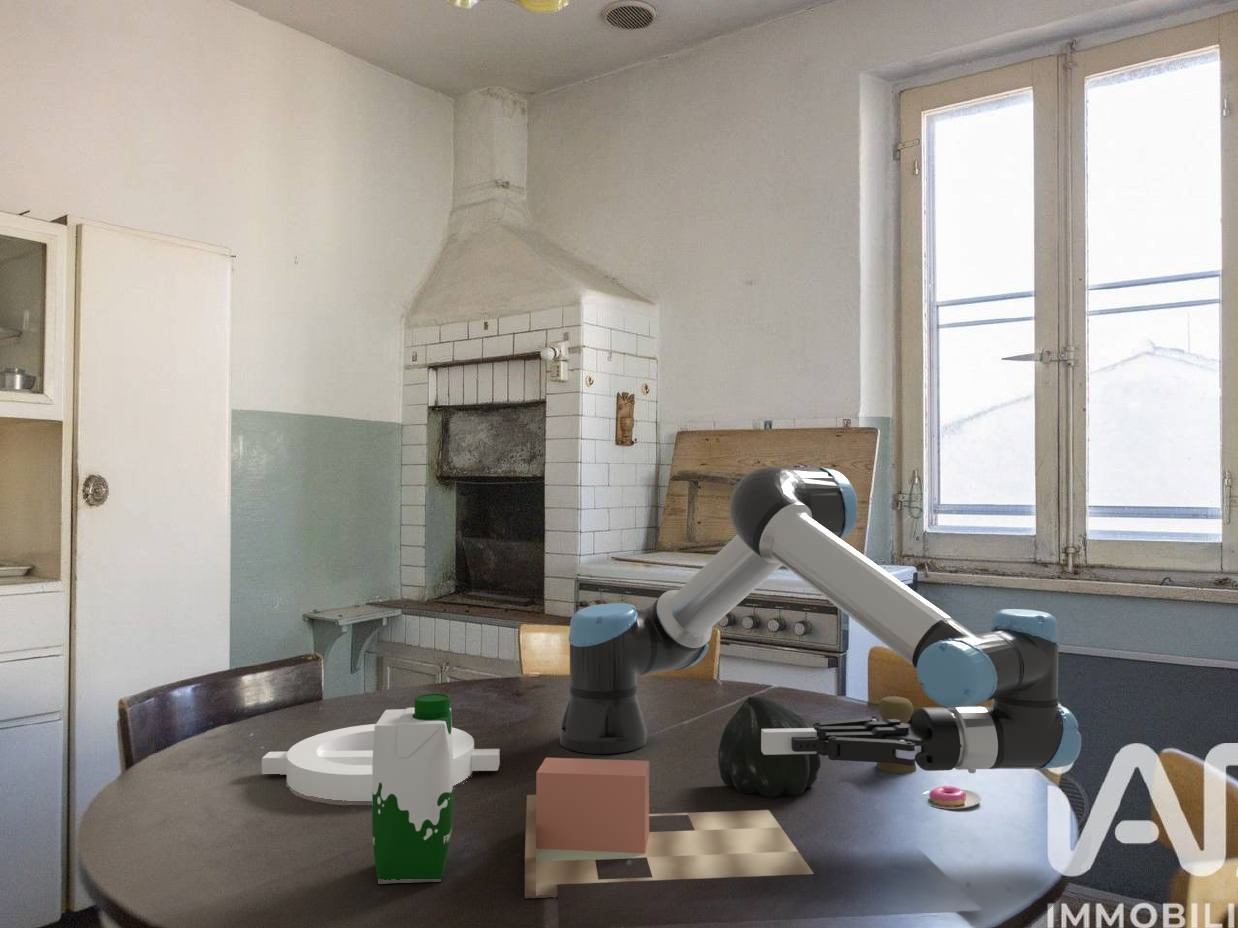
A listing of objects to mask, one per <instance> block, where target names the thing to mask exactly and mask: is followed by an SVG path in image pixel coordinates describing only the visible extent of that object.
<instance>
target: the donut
mask: <svg viewBox="0 0 1238 928" xmlns="http://www.w3.org/2000/svg"><path fill="white" fill-rule="evenodd" d="M928 793H929V798H930V801H931V802H932V803H933V802H934V803H933V804H935V803H936V804H935V805H933V804H928V803H927V804H928V805H927V806H929V805H930V807H932V806H934V807H933V808H936V807H937V809H942V808H943V810H963V809H965V810H966V809H969V808H972V807H974V806H976V805H977V804H979V803H981V801H982V797H981V796H980V795H979V793H976V792H974V791H971V790H967V789H962V788H960V787H955V786H951V785H946V786H944V785H943V786H940V787H936V788H933V789H930V790H928V791H925V792H923V793H921V794H920V796H922V795H924V794H928ZM920 796H919V797H920ZM965 802H966V803H967V806H966V805H965V806H966V807H965V806H962V805H963V804H965ZM938 804H939V805H938ZM937 805H938V806H937ZM942 805H943V806H942ZM949 806H951V807H949ZM952 806H955V807H952Z"/></svg>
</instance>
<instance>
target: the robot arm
mask: <svg viewBox="0 0 1238 928" xmlns="http://www.w3.org/2000/svg"><path fill="white" fill-rule="evenodd" d="M729 500H730V501H729V518H730V521H731V525H732V526H733V528H734V531H735V532H736V535H735V536H734V537H733V538H732V539H731V540H730V541H729V542H728V543H726V545H725V546H724V547H722V548H721V550H719V551H718V552H717V553H716V554H715V555H714V556H713V557H712V558H711V559H710V560H709V561H708V562H707V563H706V564H704V566H703V567H702V568H701V569H700V570H699V571H698V572H697V573H695V574H694V575H693V576H692V577H691V579H689V580H688V581H687V582H686V583H685V584H684V585H683V586H682V587H681V588H680V589H671V590H668V591H665V592H664V593H662V594H661V595H660V596H659V597H658V598H657V599H656V600H655V601H654V602H652V603H651V604H650V605H649V606H648V607H645V608H641V609H639V608H638V609H637V608H636V606H634V605H633V604H631V603H628V602H627V603H626V602H609V603H599V604H594V605H590V606H587V607H584V608H581V609H579V610H577V611H576V612H575V613H574V614H573V615H572V617H571V618H570V625H569V634H568V641H569V642H568V643H569V699H568V702H567V705H566V710H565V712H564V715H563V718H562V722H561V725H560V728H559V745H561V747H564V748H565V749H568V750H571V751H573V752H578V753H583V754H597V755H599V754H600V755H602V754H603V755H606V754H607V755H609V754H621V753H627V752H631V751H635V750H638V749H641V748H643V747H644V746H646V745H647V741H648V738H647V737H648V732H647V727H646V723H645V721H644V716H643V713H642V710H641V708H640V703H639V701H638V700H639V699H638V696H637V693H638V692H637V688H638V687H637V684H638V683H637V677H639V676H644V675H645V676H646V675H650V674H657V673H663V672H669V671H679V670H681V671H682V670H685V669H688V668H689V667H692V666H695V665H696V664H697V663H699V662H701V660H702V659H703V658H704V657H705V656H706V655H707V652H708V650H709V647H710V646H709V644H708V643H709V642H710V641H711V637H712V633H713V627H714V626H715V625H716V624H718V623H719V621H721V619H723V618H724V617H725V616H726V615H727V614H729V612H730V611H732V610H733V609H734V608H735V607H736V606H737V605H739V604H740V603H741V602H742V601H743V600H744V599H745V598H746V597H748V596H749V595H750V594H751V593H752V592H753V591H755V589H757V588H758V587H759V586H760V585H761V584H763V582H765V581H766V580H767V579H768V578H769V577H771V576H772V575H773V574H774V573H775V572H776V571H777V570H779V569H780V568H781V567H782V566H784V567H785V568H787V569H788V570H789V571H790V572H791V573H793V574H794V575H796V576H797V577H798V578H799V579H800V580H802V581H803V582H804V583H806V584H807V585H808V586H809V587H811V588H813V590H815V591H816V592H817V593H819V594H820V595H821V596H822V597H824V598H825V599H826V600H828V601H829V602H830V603H832V604H833V606H835V607H837V608H838V609H839V610H841V611H842V612H843V613H844V614H845V615H847V616H848V617H849V618H850V619H852V620H853V621H854V622H856V623H858V625H860V626H861V627H863V628H864V629H865V630H867V632H868V633H870V634H871V635H872V636H874V637H876V639H877V640H879V641H880V642H881V643H882V644H884V645H885V646H887V647H888V648H889V649H891V650H892V651H893V652H895V654H897V655H898V656H900V657H901V658H903V660H905V661H906V662H907V663H908V664H910V665H911V666H913V667H914V668H915V669H916V673H917V679H918V683H919V684H920V685H921V688H922V690H923V691H924V694H925V695H926V696H927V697H928V698H929V699H930V700H931V701H933V702H934V703H936V704H938V705H939V706H940V707H939V706H938V707H937V706H935V707H934V706H931V707H930V706H929V707H925V706H924V707H923V706H922V707H918V708H915V709H913V713H912V715H911V718H910V720H909V722H908V723H906V724H905V723H901V721H900V720H897V719H888V720H886V721H882V720H881V721H880V718H879V716H878V715H869V716H866V717H862V718H860V717H859V718H851V719H850V718H849V719H841V720H840V719H838V720H837V719H836V720H828V721H816V722H813V723H812V726H811V728H786V729H761V751H762V753H763V754H764V755H776V754H815V755H818V753H819V756H823V757H824V756H828V759H829V761H830V760H831V761H846V762H847V761H849V762H861V763H862V762H863V763H864V762H865V763H867V762H868V763H877V762H880V763H895V764H902V765H907V766H913V765H915V764H916V766H918V767H919V768H920V769H921V770H923V771H927V772H929V771H930V772H931V771H932V772H936V771H938V772H940V771H951V770H954V769H955V770H958V771H962V770H963V771H964V770H965V771H966V770H967V771H968V773H969V774H976V772H977V770H996V769H997V770H1000V769H1001V770H1002V769H1003V770H1007V769H1009V770H1011V769H1012V770H1020V769H1021V770H1025V769H1027V770H1028V769H1029V770H1038V771H1039V770H1044V769H1045V770H1046V769H1055V768H1062V767H1068V766H1070V765H1072V764H1073V763H1074V762H1076V760H1077V759H1078V757H1079V756H1080V752H1081V749H1082V734H1081V733H1080V732H1079V723H1078V721H1077V719H1076V717H1075V715H1074V714H1073V713H1072V711H1071V710H1070V709H1068V708H1067V707H1065V706H1062V705H1059V702H1058V689H1059V688H1058V687H1059V685H1058V683H1059V682H1058V680H1059V677H1058V676H1059V648H1060V642H1059V636H1058V634H1059V633H1058V621H1057V619H1056V617H1055V616H1054V615H1052V614H1050V613H1048V612H1046V611H1041V610H1035V609H1034V610H1033V609H1022V608H1021V609H1020V608H1017V609H1016V608H1006V609H999V610H997V611H996V612H995V613H994V615H993V616H992V623H991V624H992V625H991V626H990V631H989V632H984V633H979V634H976V633H974V632H972V631H971V630H969V629H968V628H967V627H965V626H964V625H962V624H961V623H960V622H958V621H957V620H955V619H954V618H952V617H951V616H949V615H948V614H947V613H945V612H944V611H943V610H942V609H940V608H938V607H937V606H936V605H934V604H933V603H932V602H930V601H929V600H927V599H926V598H924V597H923V596H922V595H920V594H919V593H917V592H916V591H914V590H913V589H912V588H911V587H909V586H908V585H906V584H905V583H903V582H902V581H901V580H899V579H897V578H896V577H895V576H894V575H892V574H891V573H889V572H887V571H886V570H885V569H883V568H882V567H881V566H880V565H877V564H876V563H875V562H874V561H872V560H871V559H870V558H868V557H867V556H866V555H864V554H862V552H859V551H858V550H856V549H855V548H854V547H853V546H851V545H850V544H848V543H847V542H845V541H844V540H843V539H844V538H846V537H848V535H850V534H851V533H852V531H853V530H854V527H855V525H856V523H857V519H858V507H859V503H858V498H857V494H856V491H855V488H854V487H853V485H852V483H851V482H850V481H849V479H848V478H847V477H846V476H845V475H844V474H843V473H841V472H840V471H837V470H836V469H833V468H828V467H827V468H826V467H823V466H811V467H809V466H807V467H806V466H803V467H802V466H801V467H797V466H793V467H792V466H791V467H788V466H787V467H785V466H784V467H779V466H768V467H767V466H765V467H760V468H758V469H755V470H753V471H750V472H749V473H748V474H746V475H745V476H743V477H742V478H741V479H740V481H738V482H737V484H736V485H735V487H734V489H733V491H732V494H731V497H730V499H729ZM991 700H992V705H989V706H982V705H981V704H982V703H983V704H984V703H985V702H987V701H991ZM979 705H980V706H979Z"/></svg>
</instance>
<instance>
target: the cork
mask: <svg viewBox="0 0 1238 928" xmlns="http://www.w3.org/2000/svg"><path fill="white" fill-rule="evenodd" d="M878 712H879V715H880V716H881V718H882V719H881V721H886V720H888V719H897V720H900V721H901V723H905V724H906V723H908V722H909V720H910V718H911V715H912V713H913V712H914V707H913V704H912V702H911V700H909V699H908V698H906V697H901V696H897V695H896V696H891V695H890V696H885V697H883V698H881V700H880V701H879V704H878ZM875 766H876V768H877V770H880V771H882V772H886V773H890V774H899V775H901V774H902V775H903V774H904V775H905V774H911V773H916V771H917V763H915V765H913V766H907V765H902V764H895V763H880V762H876V765H875Z"/></svg>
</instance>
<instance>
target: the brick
mask: <svg viewBox="0 0 1238 928" xmlns="http://www.w3.org/2000/svg"><path fill="white" fill-rule="evenodd" d="M535 773H536V785H535V787H536V789H535V790H536V794H535V795H536V849H557V850H581V851H604V852H627V853H645V852H646V847H647V842H648V838H649V832H650V816H649V814H650V761H649V760H634V759H632V760H631V759H630V760H629V759H605V758H603V759H602V758H601V759H599V758H572V757H571V758H570V757H569V758H568V757H545V758H544V760H543V762H542V763H541V765H540V766H539V768H538V769H537V770H536V772H535Z"/></svg>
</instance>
